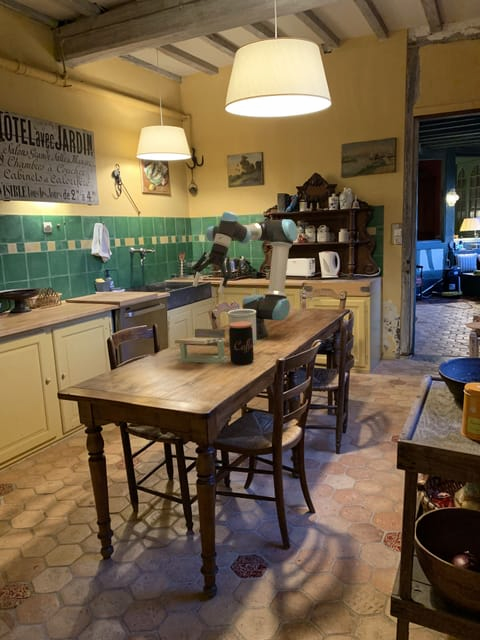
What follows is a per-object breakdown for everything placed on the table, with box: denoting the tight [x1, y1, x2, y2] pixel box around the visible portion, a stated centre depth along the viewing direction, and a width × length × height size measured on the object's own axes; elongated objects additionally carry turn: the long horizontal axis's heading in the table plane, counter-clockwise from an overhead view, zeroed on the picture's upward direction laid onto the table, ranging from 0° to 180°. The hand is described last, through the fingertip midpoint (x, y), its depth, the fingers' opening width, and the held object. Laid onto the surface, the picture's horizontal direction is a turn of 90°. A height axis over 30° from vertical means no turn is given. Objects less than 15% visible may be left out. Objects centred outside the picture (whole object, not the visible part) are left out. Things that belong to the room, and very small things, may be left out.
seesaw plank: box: [174, 328, 226, 347], centre depth 231 cm, size 27×16×7 cm, turn 162°
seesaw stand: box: [177, 340, 228, 364], centre depth 233 cm, size 8×22×10 cm, turn 72°
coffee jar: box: [228, 321, 255, 366], centre depth 225 cm, size 11×11×18 cm
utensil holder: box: [227, 308, 257, 346], centre depth 258 cm, size 15×15×18 cm
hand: (206, 289), depth 225 cm, fingers open, 13 cm apart
